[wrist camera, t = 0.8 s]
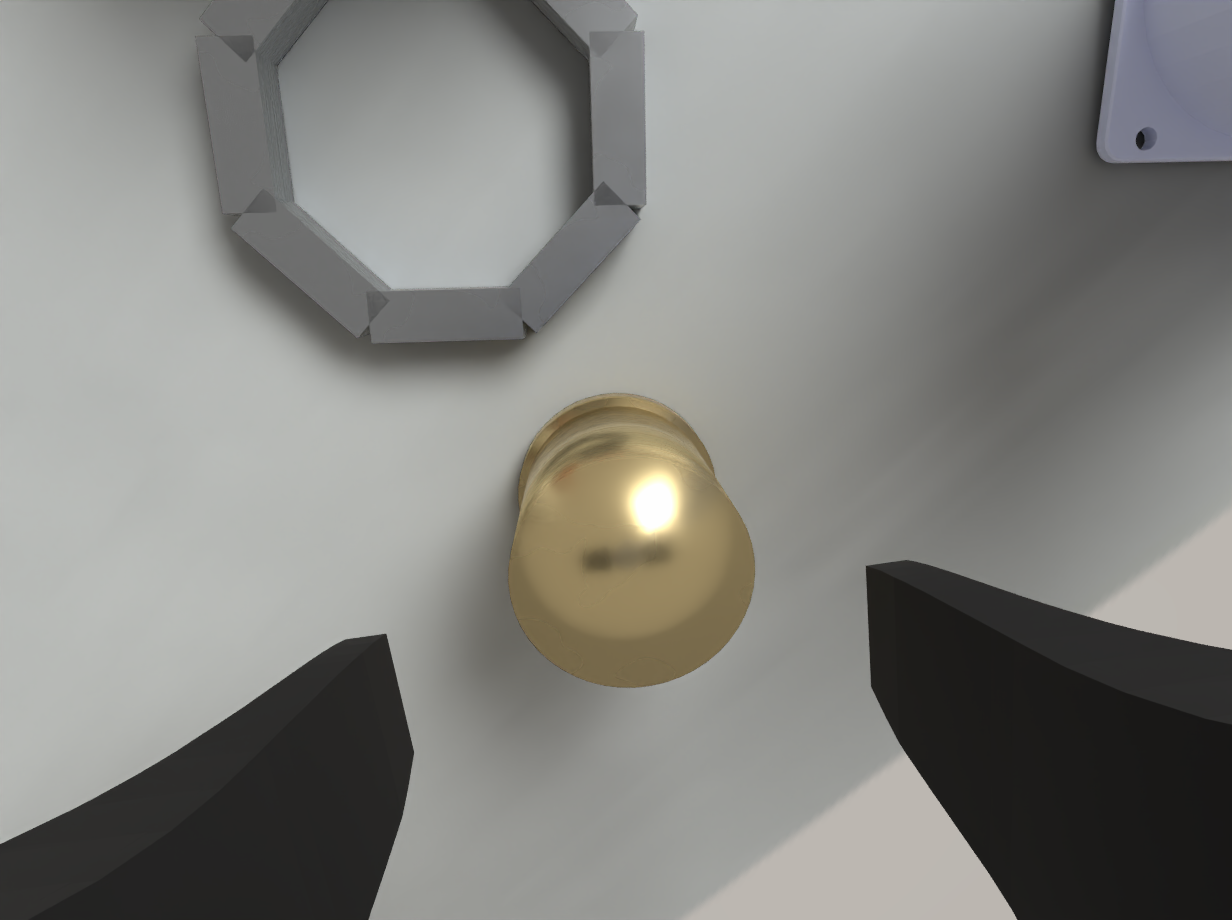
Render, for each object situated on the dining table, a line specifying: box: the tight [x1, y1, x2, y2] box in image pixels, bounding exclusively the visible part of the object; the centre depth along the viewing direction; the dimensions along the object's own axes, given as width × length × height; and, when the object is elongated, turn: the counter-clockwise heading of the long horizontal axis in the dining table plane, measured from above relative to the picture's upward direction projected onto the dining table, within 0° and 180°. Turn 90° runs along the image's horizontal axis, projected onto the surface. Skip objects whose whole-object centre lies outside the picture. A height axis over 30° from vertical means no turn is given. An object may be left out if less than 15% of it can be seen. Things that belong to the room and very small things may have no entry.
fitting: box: [508, 393, 755, 688], centre depth 17 cm, size 5×5×6 cm
